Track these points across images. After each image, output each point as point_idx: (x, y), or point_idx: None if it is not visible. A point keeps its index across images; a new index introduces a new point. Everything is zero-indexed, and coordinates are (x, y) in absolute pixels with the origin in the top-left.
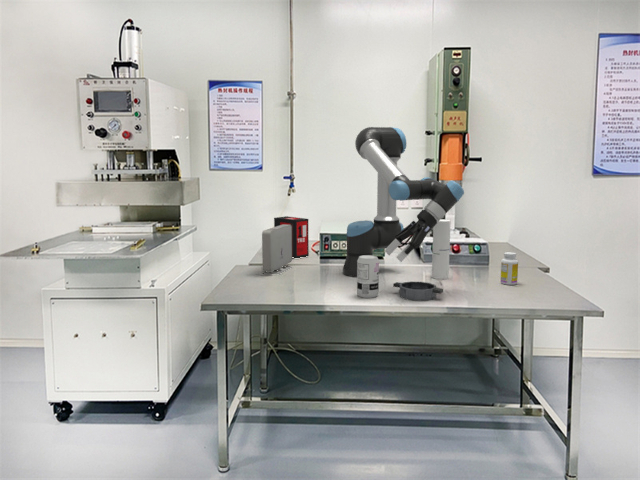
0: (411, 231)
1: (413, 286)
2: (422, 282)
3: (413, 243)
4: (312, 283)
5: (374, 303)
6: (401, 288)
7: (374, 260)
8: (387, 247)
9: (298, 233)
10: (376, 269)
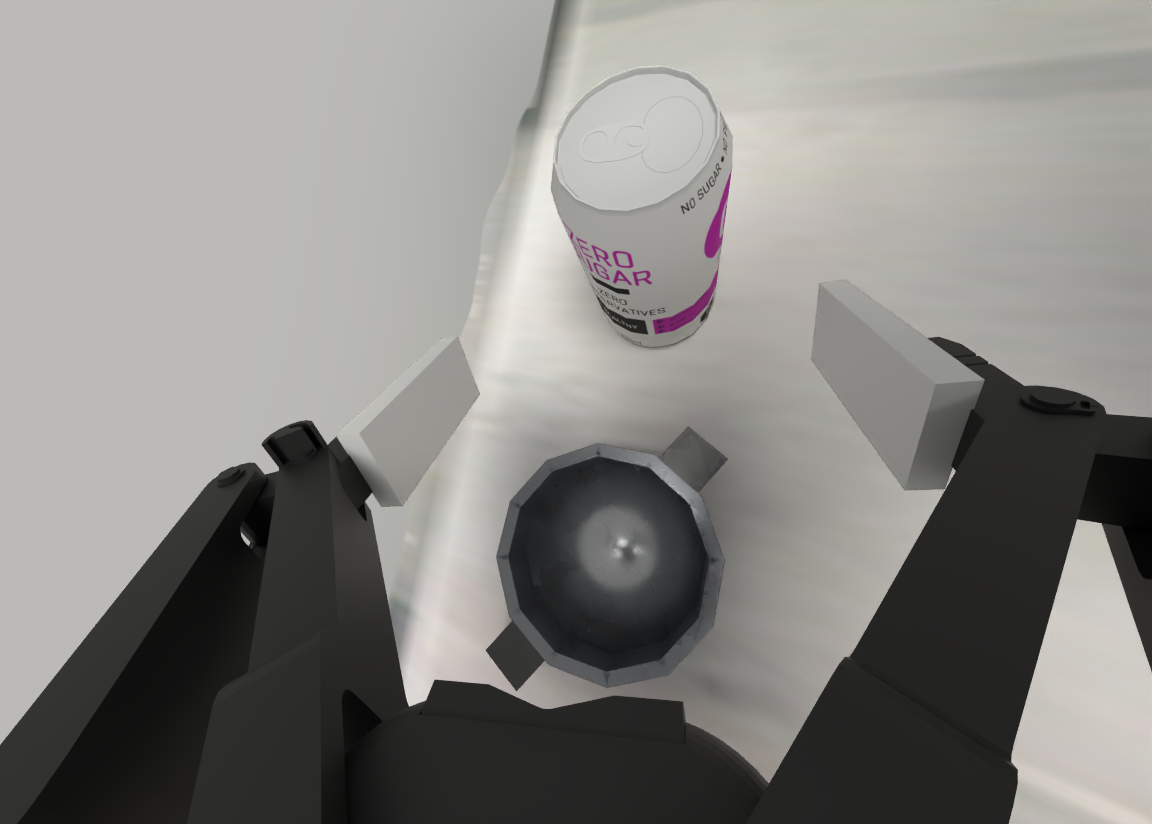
0: (662, 710)
1: (706, 565)
2: (688, 629)
3: (226, 470)
4: (978, 29)
5: (523, 312)
6: (586, 448)
7: (560, 196)
8: (856, 299)
9: None
10: (580, 255)
